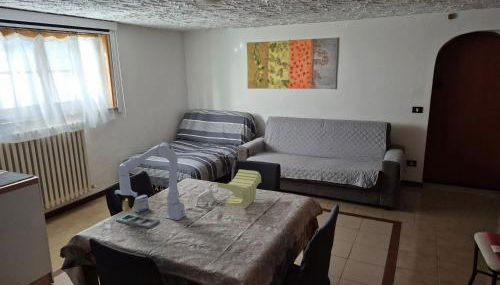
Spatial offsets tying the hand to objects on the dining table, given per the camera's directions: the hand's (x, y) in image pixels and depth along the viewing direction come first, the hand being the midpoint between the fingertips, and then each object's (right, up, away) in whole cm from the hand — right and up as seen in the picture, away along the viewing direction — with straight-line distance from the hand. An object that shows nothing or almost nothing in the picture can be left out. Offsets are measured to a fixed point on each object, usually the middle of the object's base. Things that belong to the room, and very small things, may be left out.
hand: (127, 207), depth 194 cm
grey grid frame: (+7, -8, -1) cm, 11 cm away
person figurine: (+43, -2, +24) cm, 50 cm away
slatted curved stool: (+65, -2, +22) cm, 68 cm away
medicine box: (+3, -5, +15) cm, 16 cm away
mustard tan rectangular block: (0, -2, 0) cm, 2 cm away
